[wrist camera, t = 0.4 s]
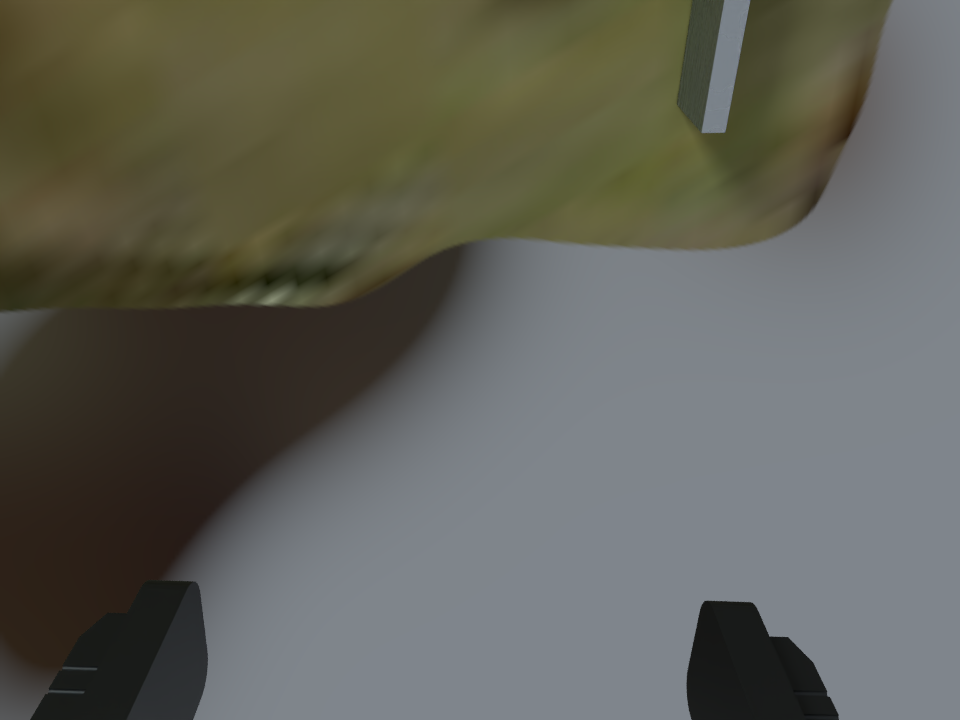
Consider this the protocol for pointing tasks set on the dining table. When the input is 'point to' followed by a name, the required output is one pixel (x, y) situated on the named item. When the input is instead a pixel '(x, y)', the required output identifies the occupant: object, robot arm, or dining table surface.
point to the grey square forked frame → (712, 62)
